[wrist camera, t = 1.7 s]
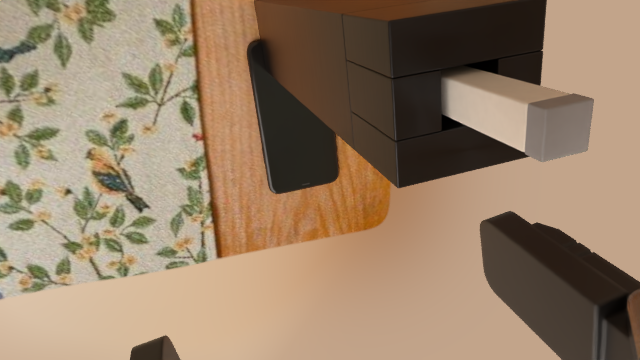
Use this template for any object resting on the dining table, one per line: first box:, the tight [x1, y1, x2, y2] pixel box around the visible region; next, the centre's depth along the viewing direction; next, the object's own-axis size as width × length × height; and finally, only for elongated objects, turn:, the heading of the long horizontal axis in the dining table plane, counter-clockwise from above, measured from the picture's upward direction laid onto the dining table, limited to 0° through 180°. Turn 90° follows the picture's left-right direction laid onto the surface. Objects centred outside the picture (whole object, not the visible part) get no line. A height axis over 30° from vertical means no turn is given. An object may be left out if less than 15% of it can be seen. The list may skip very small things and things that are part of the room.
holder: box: [254, 0, 547, 188], centre depth 31 cm, size 6×6×30 cm
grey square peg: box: [440, 65, 594, 162], centre depth 18 cm, size 2×2×10 cm
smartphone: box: [247, 40, 339, 194], centre depth 48 cm, size 8×1×16 cm
